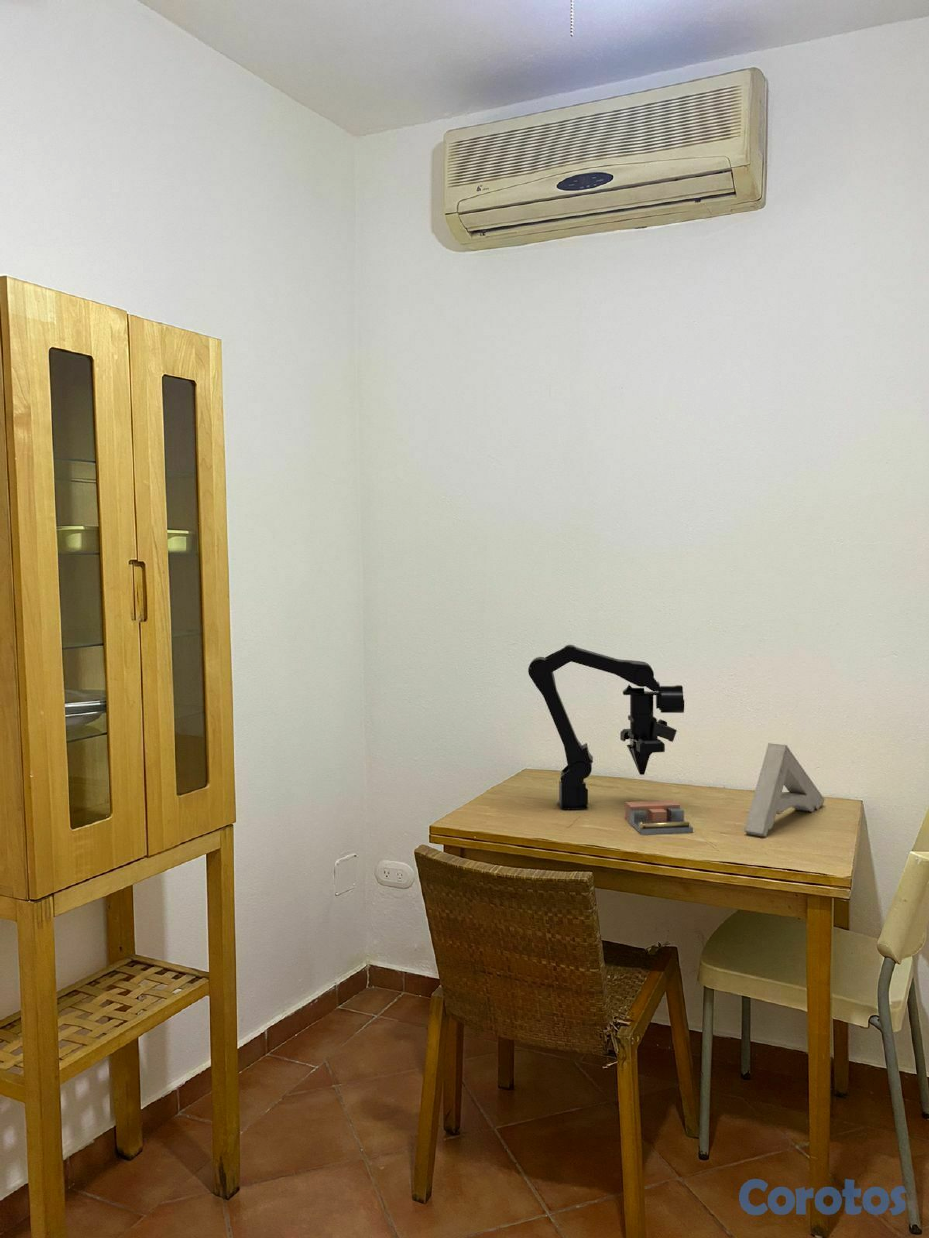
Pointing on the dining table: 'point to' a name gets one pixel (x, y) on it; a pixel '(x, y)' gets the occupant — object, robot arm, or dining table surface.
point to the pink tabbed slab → (651, 809)
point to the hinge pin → (662, 824)
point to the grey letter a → (780, 790)
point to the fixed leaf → (672, 816)
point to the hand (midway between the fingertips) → (641, 774)
